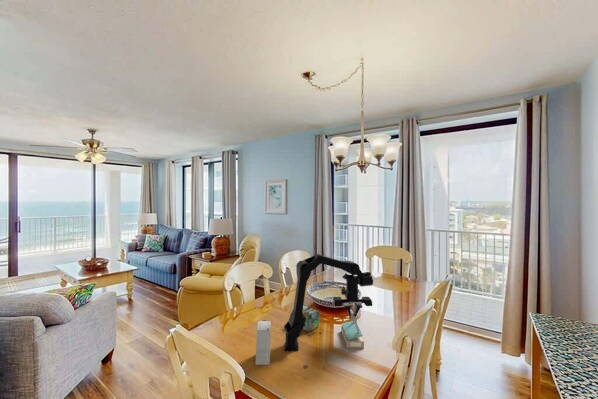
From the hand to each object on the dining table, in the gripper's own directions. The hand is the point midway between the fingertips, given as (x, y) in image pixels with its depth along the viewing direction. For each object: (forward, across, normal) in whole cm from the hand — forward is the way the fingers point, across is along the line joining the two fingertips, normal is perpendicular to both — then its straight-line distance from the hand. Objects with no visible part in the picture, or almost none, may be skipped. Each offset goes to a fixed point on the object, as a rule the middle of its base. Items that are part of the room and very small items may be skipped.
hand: (352, 318), depth 132 cm
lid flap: (+6, 0, 0) cm, 6 cm away
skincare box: (+10, +42, +18) cm, 47 cm away
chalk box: (+5, +27, -18) cm, 32 cm away
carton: (+10, 0, 0) cm, 10 cm away
